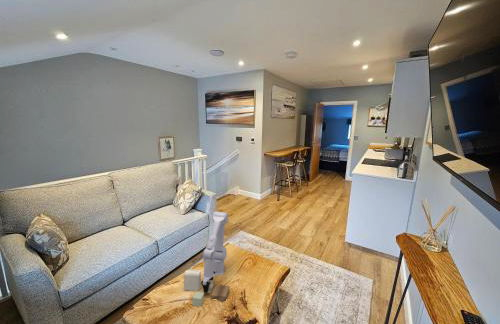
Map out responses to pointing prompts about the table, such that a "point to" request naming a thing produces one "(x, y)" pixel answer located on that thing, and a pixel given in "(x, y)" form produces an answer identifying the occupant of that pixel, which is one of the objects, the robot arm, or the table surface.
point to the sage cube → (198, 298)
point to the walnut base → (220, 292)
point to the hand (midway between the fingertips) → (208, 287)
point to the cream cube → (210, 286)
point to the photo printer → (192, 280)
